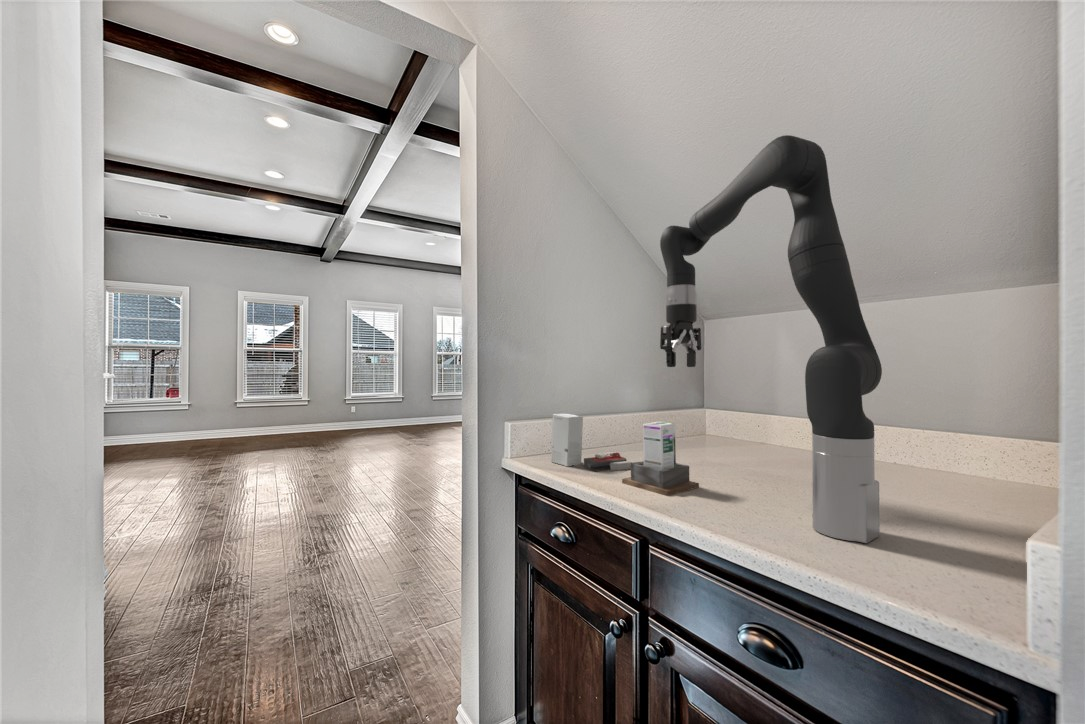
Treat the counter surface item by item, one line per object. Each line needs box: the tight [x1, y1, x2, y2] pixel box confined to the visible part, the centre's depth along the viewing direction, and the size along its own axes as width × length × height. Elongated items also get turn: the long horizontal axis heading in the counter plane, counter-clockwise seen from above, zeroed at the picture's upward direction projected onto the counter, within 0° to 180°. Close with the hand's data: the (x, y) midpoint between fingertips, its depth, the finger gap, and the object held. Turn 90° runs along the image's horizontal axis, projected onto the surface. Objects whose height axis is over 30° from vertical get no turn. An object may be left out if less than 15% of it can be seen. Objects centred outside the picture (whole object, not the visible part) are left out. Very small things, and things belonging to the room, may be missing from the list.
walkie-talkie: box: [583, 451, 644, 472], centre depth 132 cm, size 9×4×20 cm
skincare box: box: [550, 413, 584, 467], centre depth 137 cm, size 8×6×15 cm
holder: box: [621, 461, 700, 496], centre depth 112 cm, size 14×12×5 cm
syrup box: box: [642, 421, 677, 470], centre depth 112 cm, size 6×6×14 cm
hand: (681, 367), depth 116 cm, fingers open, 8 cm apart
